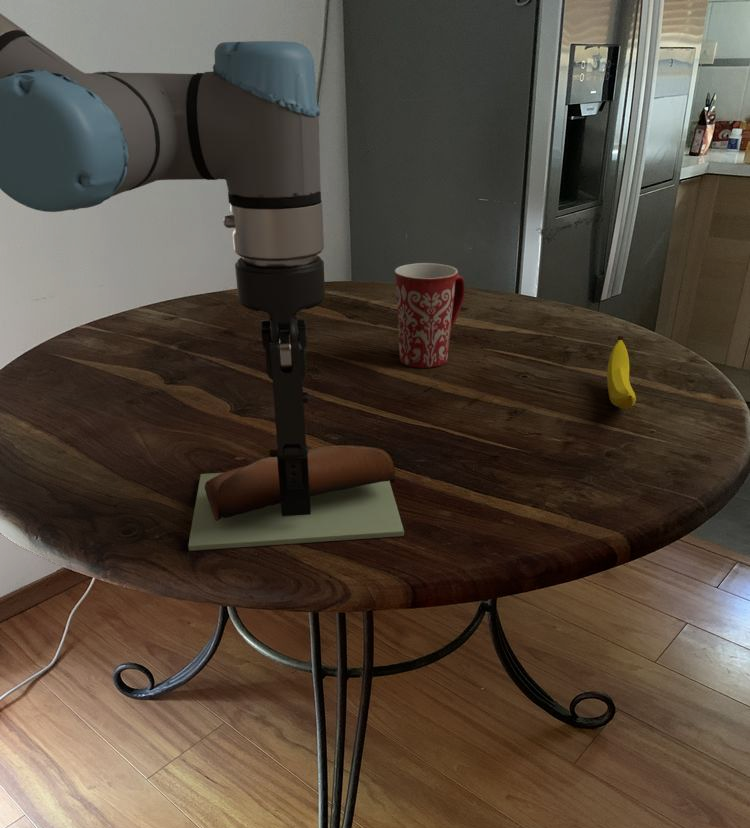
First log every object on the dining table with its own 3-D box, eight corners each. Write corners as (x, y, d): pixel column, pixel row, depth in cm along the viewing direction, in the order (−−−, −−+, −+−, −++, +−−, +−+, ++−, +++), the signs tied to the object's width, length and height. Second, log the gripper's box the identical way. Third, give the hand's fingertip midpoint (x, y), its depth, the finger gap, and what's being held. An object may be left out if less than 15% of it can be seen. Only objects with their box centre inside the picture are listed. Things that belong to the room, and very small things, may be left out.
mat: (188, 551, 67) (187, 545, 67) (201, 478, 79) (200, 473, 79) (404, 536, 69) (404, 530, 69) (384, 467, 81) (384, 463, 81)
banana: (611, 433, 89) (620, 383, 86) (602, 377, 105) (609, 334, 102) (636, 435, 89) (645, 385, 85) (623, 379, 105) (631, 335, 101)
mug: (423, 375, 106) (426, 280, 99) (381, 359, 112) (381, 269, 105) (481, 355, 113) (487, 266, 107) (439, 342, 119) (442, 256, 112)
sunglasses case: (363, 449, 80) (375, 412, 74) (386, 503, 77) (400, 468, 71) (198, 483, 74) (198, 445, 68) (216, 543, 71) (218, 508, 65)
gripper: (239, 232, 71) (258, 441, 82) (227, 291, 52) (254, 552, 64) (316, 230, 72) (325, 438, 83) (332, 287, 53) (341, 545, 64)
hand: (294, 487), depth 73 cm, fingers closed on sunglasses case, 9 cm apart
